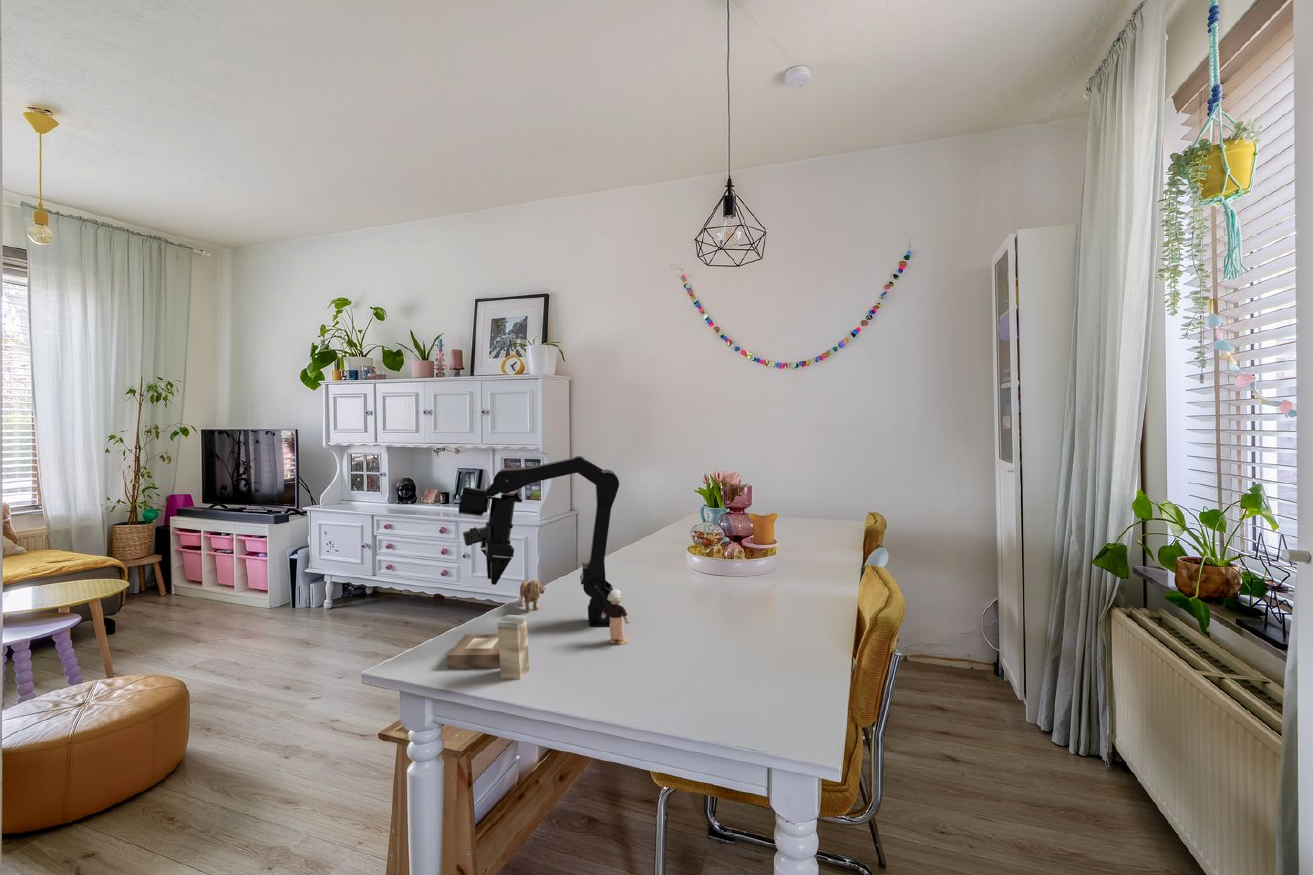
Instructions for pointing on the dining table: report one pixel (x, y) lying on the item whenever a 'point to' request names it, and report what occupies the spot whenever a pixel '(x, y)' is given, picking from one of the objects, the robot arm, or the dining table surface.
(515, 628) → the oak column
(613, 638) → the grandmother figurine
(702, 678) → the dining table surface
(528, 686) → the dining table surface
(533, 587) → the lion figurine
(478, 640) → the plinth
